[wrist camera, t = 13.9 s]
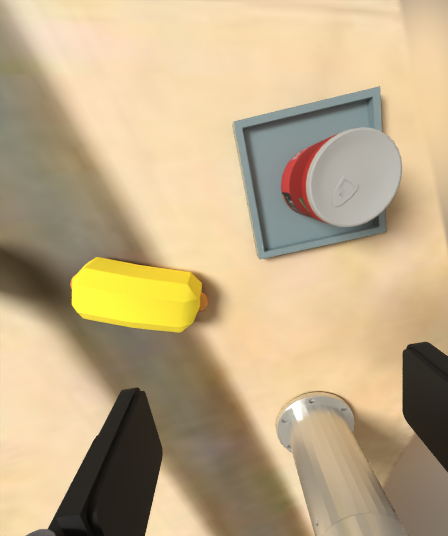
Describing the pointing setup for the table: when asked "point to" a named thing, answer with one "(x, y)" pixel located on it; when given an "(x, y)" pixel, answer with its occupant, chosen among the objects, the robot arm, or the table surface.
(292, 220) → the tray
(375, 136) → the canned food
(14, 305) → the table surface
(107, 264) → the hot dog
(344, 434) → the robot arm
